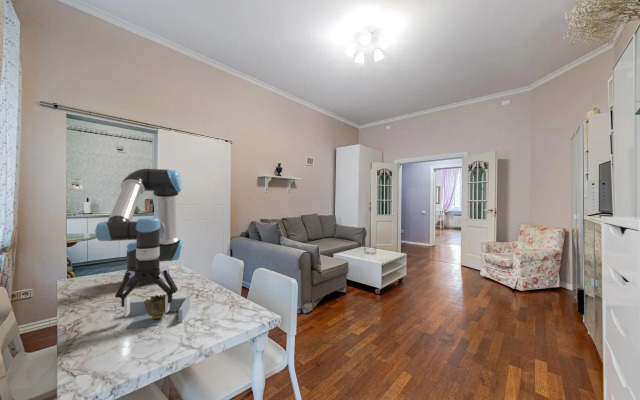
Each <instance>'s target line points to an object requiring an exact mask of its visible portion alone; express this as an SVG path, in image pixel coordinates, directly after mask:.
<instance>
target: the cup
mask: <svg viewBox="0 0 640 400" xmlns="http://www.w3.org/2000/svg"><path fill="white" fill-rule="evenodd" d="M166 295H167V294H163V295H162V294H160V295H158V294H155V295H154V296H153V295H152V296H151V297H150V299H148V298H146V299H145V300H143V301H144V304H145V307H146V311H147V313H148V314H147V315H150V316H152V319H153V320H157V319H160V318H162V317H163V313H165V312H164V311H165V296H166ZM163 318H164V317H163Z"/></svg>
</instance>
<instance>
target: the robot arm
mask: <svg viewBox="0 0 640 400" xmlns="http://www.w3.org/2000/svg"><path fill="white" fill-rule="evenodd" d="M120 189H121V190H120V192H119V195H118V197H117V198H116V201H115V203H114V206H113V208H112V210H111V213H110V215H109V217H108V220H107V221H101V222H99V223H97V225H96V227H95V237H96V239H97V241H100V242H101V241H102V242H112V241H113V242H116V241H130V240H131V242H129V243H128V244H127V245H126V270H125V273H124V276H123V278H122V280H121V281H122V284H121V285H120V287H119V289H118V290H117V292H116V293H115V296H114V297H115V298H120V299H121V301H120V302H121V308H124V309H123V316H124V317H128V316H129V315H128V314H129V313H130V302H131V296H129V295H130V294H131V292H133V291H134V289H135V288H136V287H138V286H142V285H148V284H150V283H154V284H156V285H157V286H158V287H159V288H160V289H161V290H162V291H163V292H164V293H165V295H166V296H165V312H164V313H166V314H167V313H169V312H168V311H169V308H170V303H171V302H172V298H173V294H176V293H177V291H178V290H179V289H178V287H177V285H176V283H175V281H174V280H173V278H172V276H171V274H170V271H169V268H165V269H162V270H161V269H160V263H163V262H172V261H178V260H179V259H180V258H181V252H182V246H183V245H182V244H183V240H181V239H180V236H178V235H177V216H176V215H177V213H176V212H177V211H176V210H177V209H176V207H177V206H176V197H178V196H179V193H181V192H182V181H181V176H180V173H179V172H178V171H177V170H175V169H174V170H172V169H160V168H158V169H157V168H141V169H137V170H135V171H133V172H131V173H129V174H128V175H127V176H125V178H124V179H123V180H122V181H121V183H120ZM145 191H146V192H153V197H154V196H155V197H156V200H157V201H156V202H157V203H156V204H157V217H143V218H138V219H137V220H135V221H132V219H133V216H134V215H135V214H134V213H135V211H136V208H137V205H138V202H139V199H140V197H141V195H143V193H144V192H145ZM160 275H161V276H163V278H164V280H165V281H166V282H165V281H164V280H163V279H162V278H161V277H160ZM166 283H167V284H166ZM127 287H129V288H128V289H127ZM126 289H127V290H126ZM125 290H126V291H125Z"/></svg>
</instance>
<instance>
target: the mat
mask: <svg viewBox="0 0 640 400" xmlns="http://www.w3.org/2000/svg"><path fill="white" fill-rule="evenodd" d="M166 314H167V312H166V313H165V312H163V317H162V318H160V319H157V320H153V319H152V316H150V315H148V314H138V315H136V317H135V318H134V319H133V320H132V321H131V322H130V323H129V325H127V326H126V328H125V330H129V329H139V328H148V327H158V325H159V324H160V322H161V321H162V320H163V318H165V316H166Z"/></svg>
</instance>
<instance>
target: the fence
mask: <svg viewBox="0 0 640 400" xmlns="http://www.w3.org/2000/svg"><path fill="white" fill-rule="evenodd" d="M190 299H191V298H190V297H187V296H185V297H174V298H173V297H172V302H171V303H170V308H169V311H168V312H167V313H169V312H178V324H182V323H184V322H183V321H185V318H186V316H187V314H188V313H189V311H190V305H191V303H190V302H191V301H190ZM163 313H165V311H164V312H163ZM138 315H148V313H147V311H146V307H145V304H144V300H137V301H130V313H129V314H128V315H127V316H138Z"/></svg>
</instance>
